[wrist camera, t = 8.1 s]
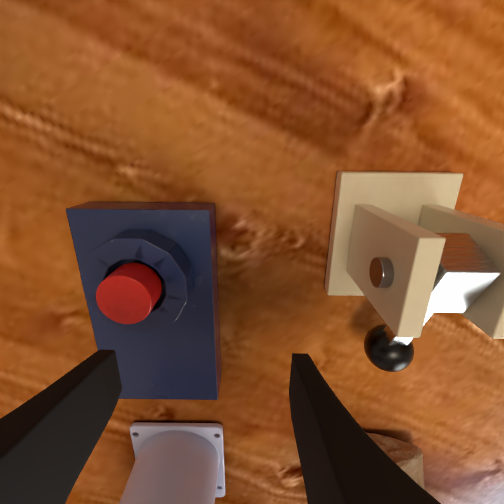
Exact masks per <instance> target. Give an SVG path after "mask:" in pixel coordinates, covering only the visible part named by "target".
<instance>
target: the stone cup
mask: <svg viewBox="0 0 504 504" xmlns="http://www.w3.org/2000/svg"><path fill="white" fill-rule="evenodd" d="M367 434H368V435H369V437H370V438H371V439H372V440H373V441H374V442H375V443H376V444H377V445H378V446H379V447H380V448H381V449H382V450H383V451H384V452H385V453H386V454H387V455H388V456H389V457H390V458H391V459H392V460H393V461H394V462H395V463H396V464H397V465H398V466H399V467H400V468H401V469H402V470H403V471H404V472H405V473H407V474H408V475H409V476H410V477H411V478H412V479H413V480H414V481H415V482H416V483H417V484H418V485H419V486H421V487H422V488H423V489H424V474H423V453H422V451H421V449H420V448H419V447H417V446H415V445H413V444H411V443H407V442H404V441H400V440H397V439H395V438H392V437H388V436H383V435H378V434H374V433H367ZM424 490H425V489H424Z"/></svg>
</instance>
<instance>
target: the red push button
mask: <svg viewBox="0 0 504 504" xmlns="http://www.w3.org/2000/svg"><path fill="white" fill-rule="evenodd" d="M161 292H162V285H161V281H160V278H159V277H158V275H157V274H156V273H155V271H153V270H152V269H151V268H150V267H148V266H146V265H144V264H140V263H126V264H123V265H121V266H120V267H118V268H117V269H116V270H115V271H113V272H112V273H111V274H110V275H109V276H108V277H106V278H105V279H104V280H103V281H102V282H101V283H100V284H99V286H98V288H97V291H96V301H97V304H98V307H99V308H100V310H101V311H102V313H103V314H104V315H106V316H107V317H108V318H110V319H111V320H113V321H115V322H118V323H122V324H134V323H138V322H140V321H142V320H144V319H145V318H146V317H147V316H148V315H149V313H150V312H151V310H152V309H153V307H154V305H155V304H156V302H157V301H158V299H159V298H160V296H161Z"/></svg>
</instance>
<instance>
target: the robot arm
mask: <svg viewBox="0 0 504 504" xmlns="http://www.w3.org/2000/svg"><path fill="white" fill-rule="evenodd" d="M121 391H122V384H121V379H120V373H119V368H118V363H117V357H116V352H115V350H99V351H97V352H96V353H94V354H93V355H91V356H90V357H89V358H87V359H86V360H84V361H83V362H82V363H80V364H79V365H78V366H76V367H75V368H74V369H72V370H71V371H70V372H68V373H67V374H65V375H64V376H63V377H61V378H60V379H58V380H57V381H56V382H54V383H53V384H52V385H50V386H49V387H47V388H46V389H45V390H43V391H42V392H40V393H39V394H37V395H36V396H34V397H33V398H31V399H30V400H28V401H27V402H25V403H24V404H22V405H21V406H19V407H18V408H16V409H15V410H13V411H12V412H10V413H9V414H7V415H6V416H4V417H2V418H1V419H0V504H65V503H66V500H67V498H68V496H69V494H70V492H71V490H72V488H73V486H74V484H75V482H76V480H77V478H78V476H79V474H80V472H81V471H82V469H83V467H84V465H85V463H86V462H87V460H88V458H89V456H90V454H91V452H92V451H93V449H94V447H95V445H96V443H97V441H98V440H99V438H100V436H101V434H102V432H103V430H104V429H105V427H106V425H107V423H108V421H109V419H110V417H111V415H112V413H113V411H114V408H115V406H116V404H117V401H118V399H119V396H120V393H121ZM289 397H290V408H291V417H292V423H293V428H294V433H295V438H296V443H297V448H298V453H299V458H300V463H301V468H302V473H303V478H304V483H305V488H306V494H307V501H308V504H441V503H439V502H438V501H437V500H436V499H435V498H434V497H432V496H431V495H430V494H429V493H428V492H426V491H425V490H424V489H423V488H422V487H421V486H419V485H418V484H417V483H416V482H415V481H414V480H413V479H412V478H411V477H410V476H409V475H408V474H407V473H405V472H404V471H403V470H402V469H401V468H400V467H399V466H398V465H397V464H396V463H395V462H394V461H393V460H392V459H391V458H390V457H389V456H388V455H387V454H386V453H385V452H384V451H383V450H382V449H381V448H380V447H379V446H378V445H377V444H376V443H375V442H374V441H373V440H372V439H371V438H370V437H369V435H368V434H367V433H366V432H365V431H364V430H363V429H362V428H361V426H360V425H359V424H358V423H357V422H356V421H355V419H354V418H353V417H352V416H351V414H350V413H349V412H348V411H347V410H346V408H345V407H344V406H343V404H342V403H341V402H340V401H339V399H338V398H337V396H336V395H335V394H334V392H333V391H332V390H331V388H330V387H329V385H328V384H327V383H326V381H325V380H324V378H323V377H322V375H321V374H320V372H319V371H318V369H317V367H316V366H315V364H314V362H313V361H312V359H311V357H310V356H309V355H308V354H296V353H292V363H291V375H290V386H289ZM130 434H131V439H132V444H133V449H134V454H135V459H136V461H135V463H134V466H133V468H132V471H131V474H130V476H129V479H128V482H127V484H126V487H125V489H124V492H123V495H122V497H121V500H120V502H119V504H214V502H215V497H223V496H224V495H225V468H224V442H223V426H222V425H221V424H218V423H149V422H135V423H132V425H131V426H130Z"/></svg>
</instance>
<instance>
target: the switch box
mask: <svg viewBox="0 0 504 504" xmlns="http://www.w3.org/2000/svg"><path fill="white" fill-rule="evenodd" d="M462 178H463V174H462V173H455V172H373V171H338V172H337V179H336V188H335V197H334V206H333V215H332V224H331V233H330V242H329V251H328V260H327V269H326V278H325V287H324V289H325V291H326V293H327V295H358V296H366V298H367V299H368V300H369V302H370V303H371V304H372V306H373V307H374V308H375V310H376V311H377V312H378V313H379V315H380V316H381V317H382V319H383V320H384V321H385V323H386V324H387V325H388V326H389V328H390V329H391V330H392V332H393V333H394V334H395V336H396V337H398V338H419V337H420V335H421V331H422V328H423V324H424V320H425V316H426V313H427V309H428V305H429V301H430V297H431V294H432V290H433V286H434V282H435V278H436V275H437V271H438V267H439V263H440V259H441V256H442V252H443V248H444V244H445V241H446V238H444V237H442V236H440V235H438V234H435V233H468V234H469V235H470V236H471V237H472V238H473V239H474V241H475V242H476V243H477V244H478V245H479V246H480V248H481V249H482V250H483V251H484V252H485V253H486V254H487V256H488V257H489V258H490V259H491V260H492V261H493V263H494V264H495V265H496V266H497V267H498V268H499V269H500V271H501V274H500V275H499V276H498V277H497V278H496V279H495V280H494V281H493V282H492V283H491V284H490V285H489V286H488V288H487V289H486V290H485V291H484V292H483V293H482V294H481V295H480V296H479V297H478V298H477V299H476V300H475V301H474V302H473V303H472V304H471V305H470V307H469V308H468V309H467V310H466V311H465V312H463V313H461V314H462V315H463V316H465V317H466V318H467V319H469V320H470V321H471V322H472V323H474V324H475V325H476V326H477V327H479V328H480V329H481V330H483V331H484V332H485V333H486V334H488V335H489V336H490V337H491V338H494V339H504V224H502V223H499V222H495V221H492V220H489V219H485V218H482V217H478V216H475V215H472V214H468V213H465V212H461V211H458V210H454V208H455V204H456V200H457V197H458V193H459V189H460V185H461V182H462Z"/></svg>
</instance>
